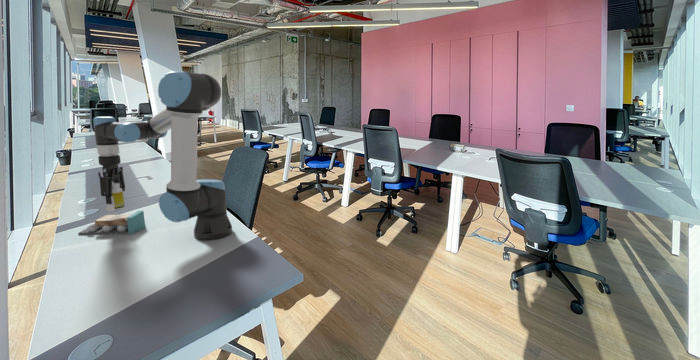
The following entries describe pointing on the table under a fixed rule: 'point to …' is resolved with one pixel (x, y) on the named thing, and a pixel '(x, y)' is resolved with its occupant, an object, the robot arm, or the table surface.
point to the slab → (112, 220)
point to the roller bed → (118, 226)
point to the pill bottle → (117, 196)
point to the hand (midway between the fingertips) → (116, 208)
